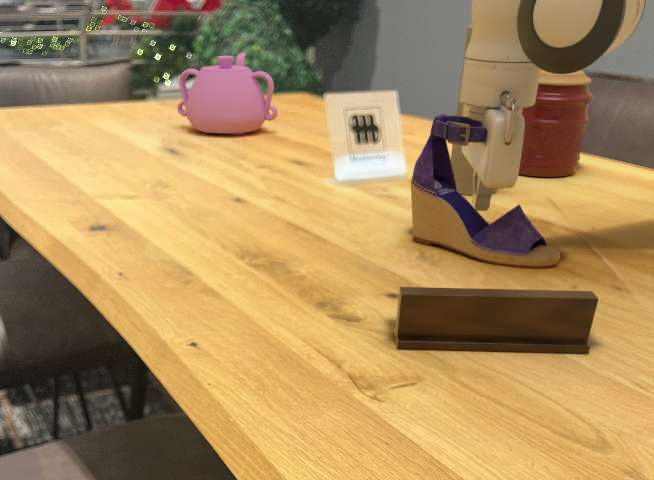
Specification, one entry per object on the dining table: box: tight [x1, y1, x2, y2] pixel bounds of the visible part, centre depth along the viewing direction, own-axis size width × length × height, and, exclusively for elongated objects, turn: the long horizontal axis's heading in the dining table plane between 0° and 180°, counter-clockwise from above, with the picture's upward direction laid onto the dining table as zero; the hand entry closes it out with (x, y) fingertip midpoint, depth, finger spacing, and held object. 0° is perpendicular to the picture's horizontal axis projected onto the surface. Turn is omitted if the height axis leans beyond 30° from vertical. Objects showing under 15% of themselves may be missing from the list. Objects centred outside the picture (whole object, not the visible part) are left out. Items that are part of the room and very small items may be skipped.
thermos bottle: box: [450, 24, 499, 196], centre depth 114 cm, size 8×8×28 cm
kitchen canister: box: [518, 69, 594, 178], centre depth 129 cm, size 13×13×18 cm
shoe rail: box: [393, 286, 599, 354], centre depth 72 cm, size 18×4×5 cm, turn 87°
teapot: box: [176, 51, 278, 136], centre depth 161 cm, size 22×22×14 cm
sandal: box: [410, 113, 561, 269], centre depth 93 cm, size 8×20×15 cm, turn 48°
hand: (479, 208), depth 98 cm, fingers closed
